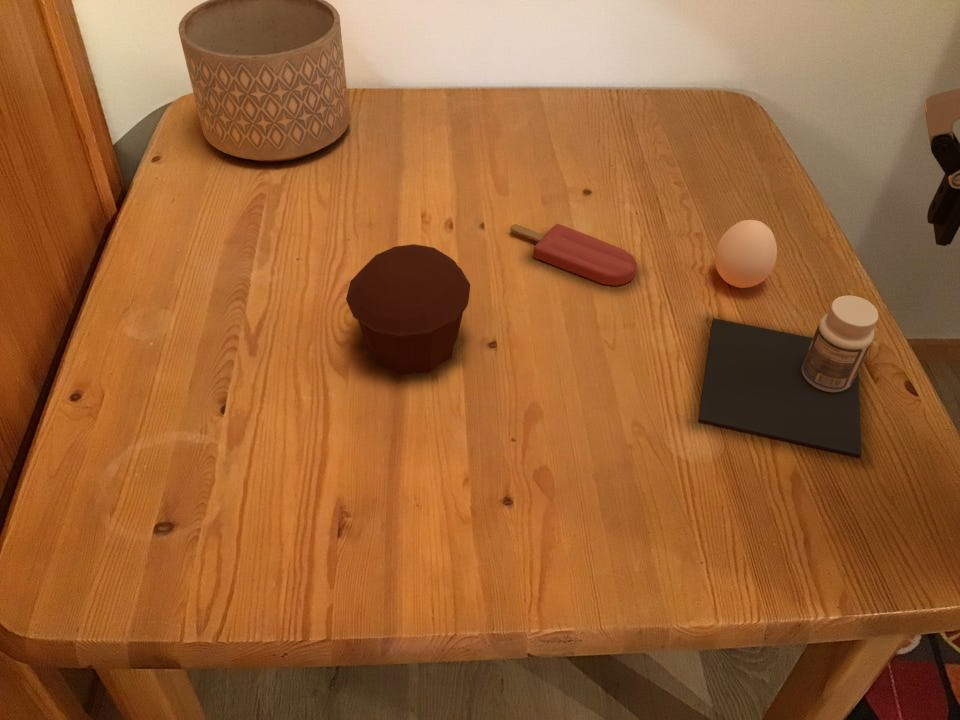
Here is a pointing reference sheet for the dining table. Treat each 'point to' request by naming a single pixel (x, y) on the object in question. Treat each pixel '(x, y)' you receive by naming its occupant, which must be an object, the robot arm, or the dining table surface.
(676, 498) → the dining table surface
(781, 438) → the slate mat
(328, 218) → the dining table surface
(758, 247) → the egg
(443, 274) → the muffin
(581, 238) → the popsicle
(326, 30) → the planter
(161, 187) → the dining table surface
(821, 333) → the pill bottle
